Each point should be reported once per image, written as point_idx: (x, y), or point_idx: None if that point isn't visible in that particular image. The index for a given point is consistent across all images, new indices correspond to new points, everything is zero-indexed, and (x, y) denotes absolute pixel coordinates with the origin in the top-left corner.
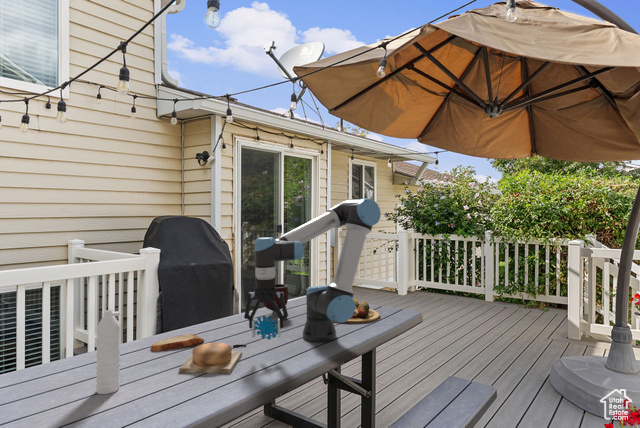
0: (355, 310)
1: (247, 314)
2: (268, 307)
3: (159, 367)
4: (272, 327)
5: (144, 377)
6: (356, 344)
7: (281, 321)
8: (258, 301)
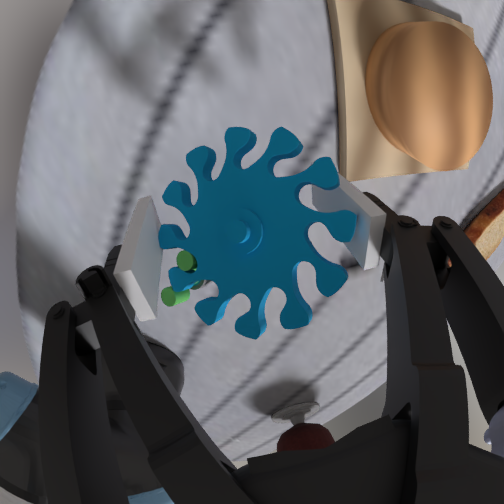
0: None
1: (451, 241)
2: (315, 426)
3: (501, 76)
4: (202, 249)
5: (500, 21)
6: (28, 337)
7: (110, 279)
8: (450, 406)
